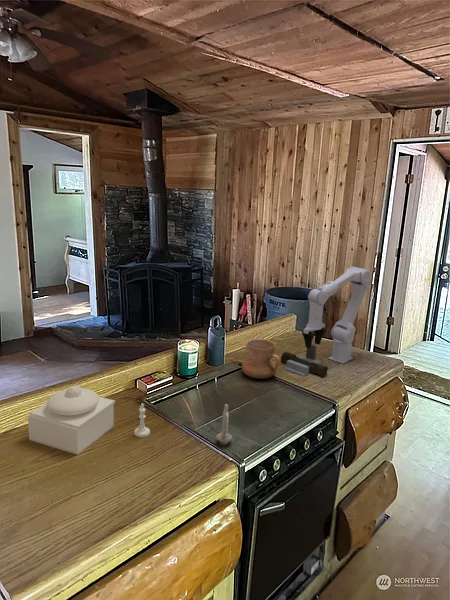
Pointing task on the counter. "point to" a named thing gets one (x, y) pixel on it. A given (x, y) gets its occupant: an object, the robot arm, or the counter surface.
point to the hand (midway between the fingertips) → (312, 345)
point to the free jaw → (310, 355)
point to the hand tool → (312, 366)
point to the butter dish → (71, 419)
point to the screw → (224, 428)
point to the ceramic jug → (260, 359)
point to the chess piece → (142, 424)
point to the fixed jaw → (297, 368)
